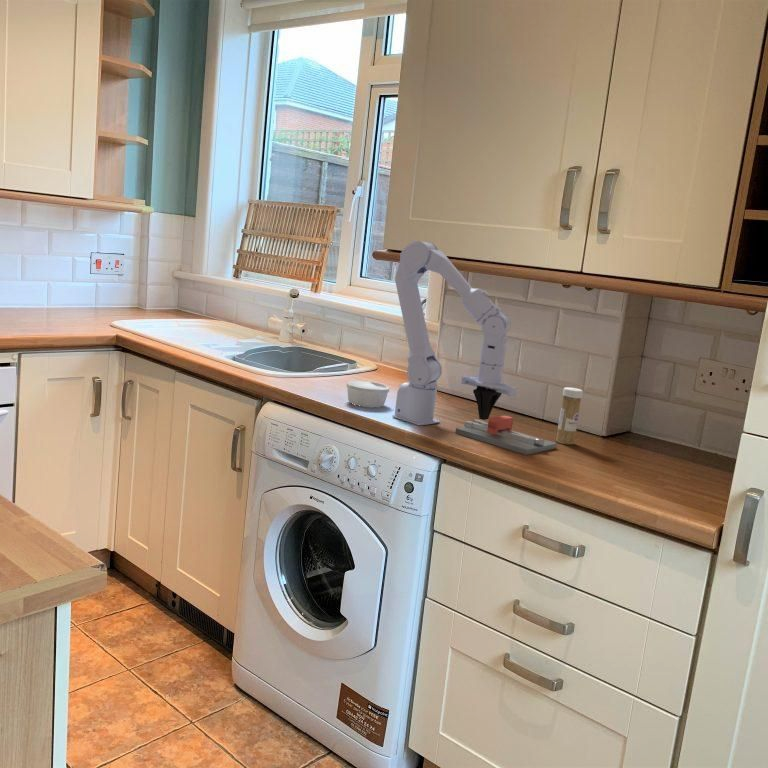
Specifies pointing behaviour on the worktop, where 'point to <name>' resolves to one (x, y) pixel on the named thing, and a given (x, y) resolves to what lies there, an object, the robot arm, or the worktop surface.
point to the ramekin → (367, 393)
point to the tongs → (505, 433)
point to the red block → (499, 424)
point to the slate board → (505, 441)
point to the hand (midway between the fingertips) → (483, 418)
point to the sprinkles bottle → (569, 415)
